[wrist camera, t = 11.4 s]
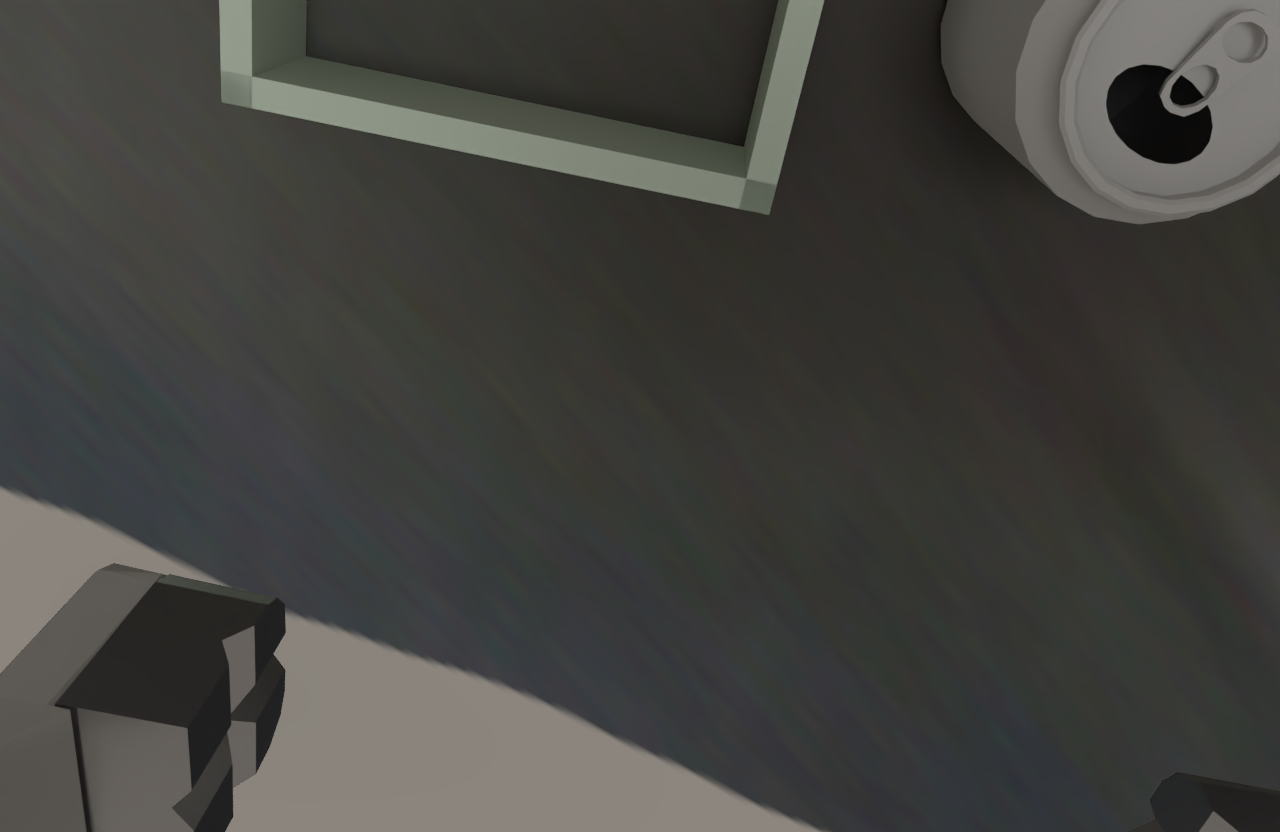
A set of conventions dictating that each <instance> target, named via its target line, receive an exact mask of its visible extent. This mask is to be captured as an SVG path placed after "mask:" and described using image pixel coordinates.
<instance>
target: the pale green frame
mask: <svg viewBox="0 0 1280 832" xmlns="http://www.w3.org/2000/svg"><path fill="white" fill-rule="evenodd" d="M823 4H824V0H778V4H777V8H776V13H775V17H774V21H773V25H772V29H771V34H770V38H769V42H768V46H767V51H766V55H765V59H764V63H763V68H762V72H761V76H760V80H759V85H758V89H757V93H756V97H755V102H754V106H753V110H752V114H751V118H750V123H749V127H748V131H747V135H746V140H745V144H744V147H742V146H737V145H732V144H728V143H723V142H718V141H713V140H708V139H704V138H699V137H694V136H689V135H684V134H679V133H675V132H670V131H665V130H660V129H655V128H651V127H646V126H641V125H636V124H631V123H626V122H622V121H617V120H612V119H607V118H602V117H598V116H593V115H588V114H583V113H578V112H574V111H569V110H564V109H559V108H554V107H549V106H545V105H540V104H535V103H530V102H525V101H521V100H516V99H511V98H506V97H501V96H496V95H492V94H487V93H482V92H477V91H472V90H468V89H463V88H458V87H453V86H448V85H444V84H439V83H434V82H429V81H424V80H419V79H415V78H410V77H405V76H400V75H395V74H391V73H386V72H381V71H376V70H371V69H366V68H362V67H357V66H352V65H347V64H342V63H338V62H333V61H328V60H323V59H318V58H313V57H309V56H306V27H307V0H219V8H220V53H221V99H222V102H224V103H228V104H233V105H238V106H243V107H248V108H253V109H258V110H262V111H267V112H272V113H277V114H282V115H287V116H291V117H296V118H301V119H306V120H311V121H316V122H321V123H325V124H330V125H335V126H340V127H345V128H350V129H354V130H359V131H364V132H369V133H374V134H379V135H384V136H388V137H393V138H398V139H403V140H408V141H413V142H418V143H422V144H427V145H432V146H437V147H442V148H447V149H451V150H456V151H461V152H466V153H471V154H476V155H481V156H485V157H490V158H495V159H500V160H505V161H510V162H514V163H519V164H524V165H529V166H534V167H539V168H544V169H548V170H553V171H558V172H563V173H568V174H573V175H577V176H582V177H587V178H592V179H597V180H602V181H607V182H611V183H616V184H621V185H626V186H631V187H636V188H640V189H645V190H650V191H655V192H660V193H665V194H670V195H674V196H679V197H684V198H689V199H694V200H699V201H703V202H708V203H713V204H718V205H723V206H728V207H733V208H737V209H742V210H747V211H752V212H757V213H762V214H766V215H769V214H770V210H771V206H772V202H773V198H774V194H775V190H776V186H777V182H778V179H779V175H780V171H781V167H782V163H783V159H784V155H785V151H786V147H787V144H788V140H789V136H790V132H791V128H792V124H793V120H794V116H795V112H796V109H797V105H798V101H799V97H800V93H801V89H802V85H803V81H804V77H805V74H806V70H807V66H808V62H809V58H810V54H811V50H812V46H813V43H814V39H815V35H816V31H817V27H818V23H819V19H820V15H821V11H822V8H823Z"/></svg>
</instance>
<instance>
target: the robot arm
mask: <svg viewBox="0 0 1280 832" xmlns="http://www.w3.org/2000/svg"><path fill="white" fill-rule="evenodd" d="M285 632H286V630H285V604H284V603H283V602H282V601H281V600H279V599H278V598H276V597H271V596H267V595H262V594H258V593H253V592H248V591H244V590H239V589H235V588H230V587H226V586H221V585H216V584H212V583H207V582H203V581H198V580H193V579H189V578H184V577H180V576H175V575H164V574H159V573H155V572H151V571H145V570H142V569H137V568H133V567H129V566H124V565H120V564H115V563H114V564H111V565H109V566H106V567H104V568H102V569H99V570H98V571H96V572H95V573H94V574H93V575H92V576H91V578H89V580H87V582H86V583H85V584H84V585H83V586H82V587H81V588H80V589H79V590H78V591H77V592H76V594H74V595H73V597H72V598H71V599H70V600H69V601H68V602H67V603H66V604H65V605H64V606H63V607H62V608H61V609H60V610H59V611H58V613H57V614H56V615H55V616H54V617H53V618H52V619H51V620H50V621H49V622H48V623H47V624H46V625H45V627H43V629H42V630H41V631H40V632H39V633H38V634H37V635H36V636H35V637H34V638H33V639H32V640H31V641H30V643H29V644H28V645H27V646H26V647H25V648H24V649H23V650H22V651H21V652H20V653H19V654H18V656H16V657H15V659H14V660H13V661H12V662H11V663H10V664H9V665H8V666H7V667H6V668H5V669H4V670H3V671H2V672H1V674H0V832H225V831H226V829H227V827H228V825H229V823H230V821H231V820H232V818H233V787H235V786H237V785H239V784H240V783H242V782H243V781H245V780H247V779H248V778H250V777H252V776H253V775H255V774H256V773H257V771H258V769H259V767H260V765H261V763H262V761H263V759H264V757H265V755H266V753H267V751H268V749H269V747H270V744H271V741H272V738H273V736H274V732H275V729H276V726H277V724H278V721H279V718H280V715H281V709H282V703H283V697H284V691H285V669H284V668H283V666H282V665H281V664H280V662H279V661H278V660H277V658H276V657H275V656H274V654H273V653H274V652H275V650H276V648H277V646H278V645H279V643H280V641H281V640H282V638H283V636H284V634H285ZM1149 800H1150V804H1151V807H1152V810H1153V814H1154V817H1155V819H1153V820H1151V821H1149V822H1147V823H1145V824H1143V825H1141V826H1139V827H1137V828H1135V829H1133V830H1131V831H1129V832H1280V791H1277V790H1272V789H1267V788H1261V787H1256V786H1250V785H1245V784H1240V783H1234V782H1229V781H1223V780H1218V779H1213V778H1207V777H1202V776H1196V775H1191V774H1185V773H1180V772H1176V773H1174V774H1173V775H1171V776H1169V777H1167V778H1166V779H1164V780H1162V781H1161V783H1160V784H1159V786H1158V787H1157V789H1156V790H1155V792H1154V793H1153V794H1152V796H1151V797H1150V799H1149Z"/></svg>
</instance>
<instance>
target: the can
mask: <svg viewBox="0 0 1280 832" xmlns="http://www.w3.org/2000/svg"><path fill="white" fill-rule="evenodd" d="M941 63H942V66H943V69H944V72H945V75H946V78H947V80H948V83H949V86H950V89H951V92H952V94H953V96H954V97H955V99H956V100H957V101H958V102H959V103H960V105H961V106H962V107H963V108H964V109H965V111H966V112H967V113H968V114H969V115H970V117H971V118H972V119H973V120H974V121H975V122H976V123H977V124H978V125H979V126H980V127H981V128H982V129H984V130H985V131H986V132H987V133H988V134H989V135H990V136H991V137H992V138H994V139H995V140H996V141H997V142H998V143H999V144H1000V145H1001V146H1002V147H1003V148H1005V149H1006V150H1007V151H1008V152H1009V153H1010V154H1011V155H1012V156H1013V157H1014V158H1016V159H1017V160H1018V161H1019V162H1020V163H1021V164H1022V165H1023V166H1024V167H1026V168H1027V169H1028V170H1029V171H1030V172H1031V173H1032V174H1033V175H1034V176H1035V177H1037V178H1038V179H1039V180H1040V181H1041V182H1042V183H1043V184H1044V185H1045V186H1047V187H1048V188H1049V189H1050V190H1051V191H1052V192H1053V193H1054V194H1055V195H1056V196H1058V197H1060V198H1062V199H1064V200H1065V201H1067V202H1069V203H1071V204H1072V205H1074V206H1076V207H1078V208H1080V209H1081V210H1083V211H1085V212H1087V213H1088V214H1090V215H1092V216H1094V217H1099V218H1105V219H1110V220H1116V221H1122V222H1128V223H1133V224H1146V223H1154V222H1162V221H1170V220H1178V219H1185V218H1189V217H1191V216H1194V215H1196V214H1199V213H1202V212H1210V211H1212V210H1215V209H1217V208H1220V207H1222V206H1224V205H1227V204H1229V203H1232V202H1234V201H1237V200H1239V199H1242V198H1244V197H1247V196H1249V195H1251V194H1253V193H1255V192H1256V191H1258V190H1259V189H1260V188H1262V187H1263V186H1264V185H1266V184H1267V183H1268V182H1270V181H1271V180H1273V179H1274V178H1275V177H1277V176H1278V175H1279V174H1280V0H948V1H947V5H946V8H945V12H944V15H943V19H942V22H941Z"/></svg>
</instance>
